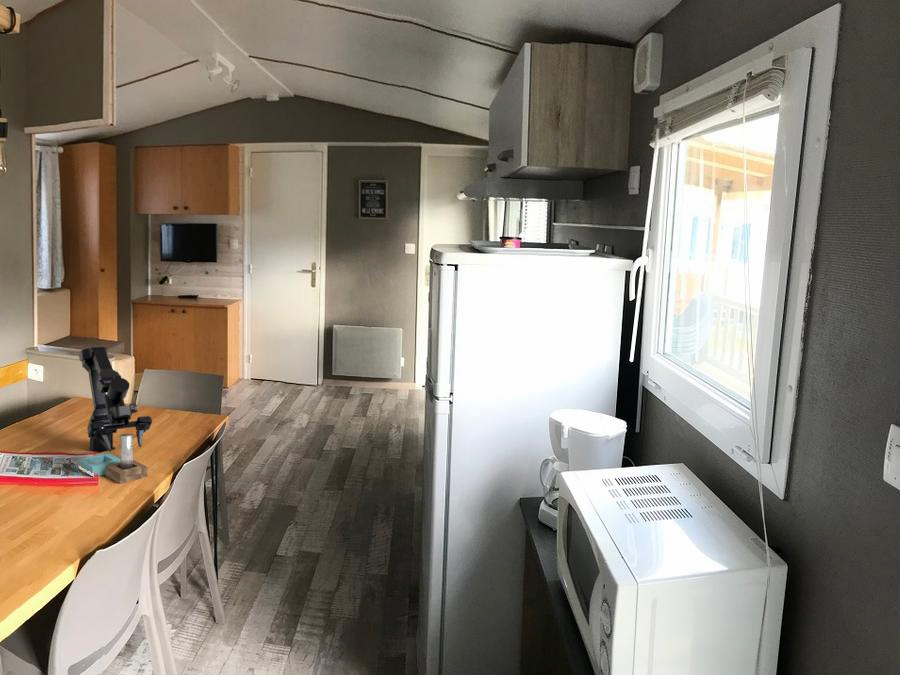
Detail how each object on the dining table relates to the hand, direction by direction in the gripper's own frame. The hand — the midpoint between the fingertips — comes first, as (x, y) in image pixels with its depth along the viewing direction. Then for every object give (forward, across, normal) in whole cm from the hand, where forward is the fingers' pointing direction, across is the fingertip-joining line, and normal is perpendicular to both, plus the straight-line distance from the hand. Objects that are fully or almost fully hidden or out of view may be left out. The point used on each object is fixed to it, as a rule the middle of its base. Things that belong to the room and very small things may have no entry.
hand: (125, 448), depth 215 cm
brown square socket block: (+7, 0, +6) cm, 9 cm away
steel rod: (+7, 0, +6) cm, 9 cm away
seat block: (0, -5, +13) cm, 14 cm away
